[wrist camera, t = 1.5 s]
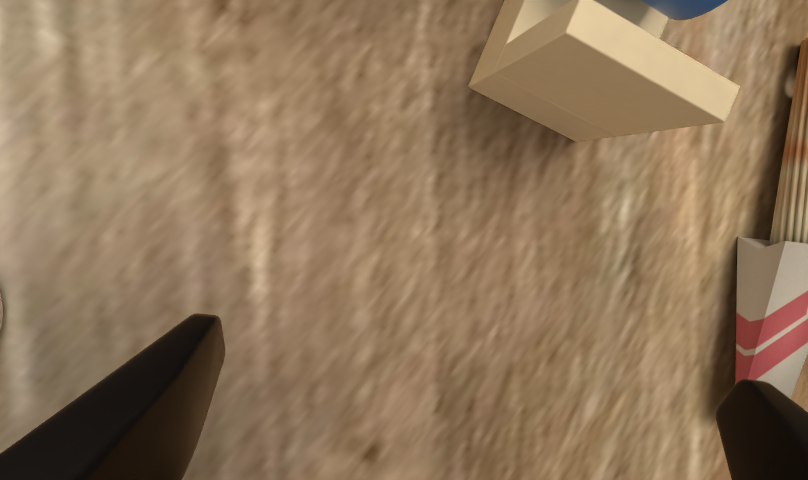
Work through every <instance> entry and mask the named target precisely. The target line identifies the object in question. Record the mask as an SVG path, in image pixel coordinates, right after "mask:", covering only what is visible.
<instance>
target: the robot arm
mask: <svg viewBox="0 0 808 480" xmlns="http://www.w3.org/2000/svg"><path fill="white" fill-rule="evenodd" d="M224 357H225V344H224V338H223V331H222V325H221V320H220V318H219V317H218V316H215V315H208V314H199V313H197V314H193V315H191V316H189V317H188V318H187V319H185V320H184V321H183V322H181V323H180V324H178V325H177V326H176V327H174V328H173V329H172V330H170V331H169V332H167V333H166V334H165V335H163V336H162V337H161V338H159V339H158V340H156V341H155V342H154V343H152V344H151V345H150V346H148V347H147V348H145V349H144V350H143V351H141V352H140V353H139V354H137V355H136V356H134V357H133V358H132V359H130V360H129V361H128V362H126V363H125V364H123V365H122V366H121V367H119V368H118V369H117V370H115V371H114V372H112V373H111V374H110V375H108V376H107V377H106V378H104V379H103V380H101V381H100V382H99V383H97V384H96V385H95V386H93V387H92V388H90V389H89V390H88V391H86V392H85V393H84V394H82V395H81V396H79V397H78V398H77V399H75V400H74V401H72V402H71V403H70V404H68V405H67V406H66V407H64V408H63V409H61V410H60V411H59V412H57V413H56V414H55V415H53V416H52V417H50V418H49V419H48V420H46V421H45V422H44V423H42V424H41V425H39V426H38V427H37V428H35V429H34V430H33V431H31V432H30V433H28V434H27V435H26V436H24V437H23V438H22V439H20V440H19V441H17V442H16V443H15V444H13V445H12V446H11V447H9V448H8V449H6V450H5V451H4V452H2V453H1V454H0V480H182V479H183V476H184V474H185V472H186V470H187V467H188V465H189V463H190V460H191V458H192V456H193V453H194V451H195V448H196V446H197V443H198V440H199V437H200V434H201V431H202V428H203V425H204V422H205V419H206V416H207V412H208V409H209V406H210V403H211V400H212V397H213V393H214V390H215V387H216V384H217V381H218V378H219V374H220V371H221V368H222V365H223V361H224ZM716 420H717V425H718V428H719V432H720V436H721V440H722V444H723V448H724V451H725V455H726V459H727V463H728V467H729V471H730V474H731V478H732V480H808V412H806V411H805V410H804V409H803V408H801V407H800V406H799V405H797V404H796V403H795V402H794V401H792V400H791V399H790V398H788V397H787V396H786V395H785V394H783V393H782V392H781V391H780V390H778V389H777V388H776V387H774V386H773V385H772V384H770V383H768V382H765V381H759V380H751V379H742V380H739V381H738V382H737V383H736V384H735V385H734V386H733V388H732V389H731V390H730V391H729V393H728V394H727V395H726V397H725V398H724V399H723V400H722V402H721V403H720V404H719V406H718V408H717V411H716Z"/></svg>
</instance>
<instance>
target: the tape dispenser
mask: <svg viewBox="0 0 808 480" xmlns="http://www.w3.org/2000/svg"><path fill="white" fill-rule="evenodd" d="M726 1H727V0H504V2H503V4H502V7H501V9H500V12H499V14H498V16H497V19H496V21H495V23H494V26H493V28H492V31H491V33H490V35H489V38H488V40H487V43H486V45H485V47H484V50H483V52H482V54H481V57H480V59H479V62H478V64H477V66H476V69H475V71H474V73H473V76H472V78H471V81H470V83H469V85H468V87H469V88H471V89H473V90H474V91H476V92H478V93H480V94H482V95H484V96H486V97H488V98H490V99H492V100H494V101H496V102H498V103H500V104H502V105H504V106H506V107H508V108H510V109H512V110H514V111H516V112H518V113H520V114H522V115H524V116H526V117H528V118H530V119H532V120H534V121H536V122H538V123H540V124H542V125H544V126H546V127H548V128H550V129H552V130H554V131H556V132H558V133H560V134H562V135H564V136H566V137H568V138H570V139H572V140H574V141H576V142H579V141H586V140H594V139H601V138H609V137H616V136H624V135H632V134H639V133H646V132H654V131H661V130H669V129H676V128H684V127H691V126H699V125H706V124H714V123H721V122H725V121H726V118H727V116H728V114H729V112H730V109H731V107H732V105H733V103H734V100H735V98H736V96H737V94H738V91H739V89H740V86H738V85H736V84H735V83H733V82H731V81H730V80H728V79H726V78H725V77H723V76H721V75H719V74H718V73H716V72H714V71H713V70H711V69H709V68H708V67H706V66H704V65H702V64H701V63H699V62H697V61H696V60H694V59H692V58H691V57H689V56H687V55H686V54H684V53H682V52H680V51H679V50H677V49H675V48H674V47H672V46H670V45H669V44H667V43H665V42H664V41H662V40H660V36H661V34H662V32H663V30H664V27H665V25H666V23H667V20H668V18H671V19H674V20H686V19H692V18H695V17H697V16H700V15H703V14H705V13H707V12H709V11H711V10H713V9H714V8H716V7H718V6H720V5H721V4H723V3H724V2H726Z"/></svg>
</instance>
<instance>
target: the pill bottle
mask: <svg viewBox="0 0 808 480" xmlns="http://www.w3.org/2000/svg"><path fill="white" fill-rule="evenodd" d="M2 318H3V305H2V299H1V294H0V328H1V324H2Z"/></svg>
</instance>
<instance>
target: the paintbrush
mask: <svg viewBox="0 0 808 480" xmlns="http://www.w3.org/2000/svg"><path fill="white" fill-rule="evenodd" d="M807 354H808V38H806V39H805V40H803V41H802V42H801V48H800V54H799V61H798V68H797V74H796V81H795V88H794V93H793V99H792V105H791V111H790V117H789V123H788V129H787V135H786V141H785V147H784V153H783V160H782V166H781V172H780V179H779V185H778V192H777V198H776V204H775V211H774V217H773V224H772V230H771V235H770V241H769V240H761V239H753V238H746V237H738V245H737V316H736V383H737V382H738V381H739V380H742V379H751V380H759V381H765V382H768V383H770V384H772V385H773V386H774V387H776V388H777V389H778V390H780V391H781V392H782V393H783V394H785V395H786V396H787V397H788V398H790V397H791V395H792V392H793V390H794V387H795V385H796V382H797V379H798V377H799V374H800V372H801V369H802V367H803V364H804V362H805V359H806V356H807Z"/></svg>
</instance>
